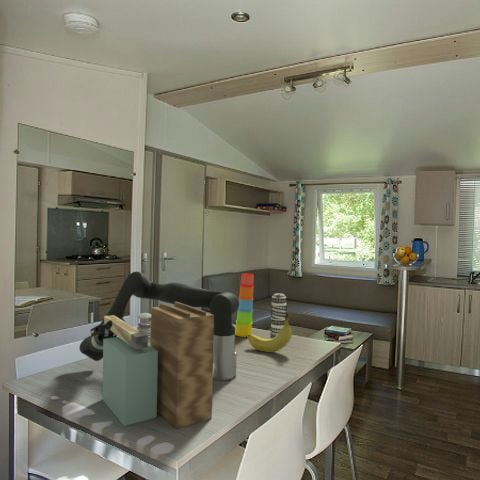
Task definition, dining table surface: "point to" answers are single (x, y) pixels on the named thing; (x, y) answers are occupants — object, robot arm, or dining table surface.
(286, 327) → the banana
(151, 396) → the pale teal block
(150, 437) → the dining table surface
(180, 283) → the robot arm
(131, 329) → the pale wooden beam
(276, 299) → the decorative candle
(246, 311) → the stacking cups
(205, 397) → the tall wooden block
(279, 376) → the dining table surface
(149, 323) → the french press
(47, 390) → the dining table surface
